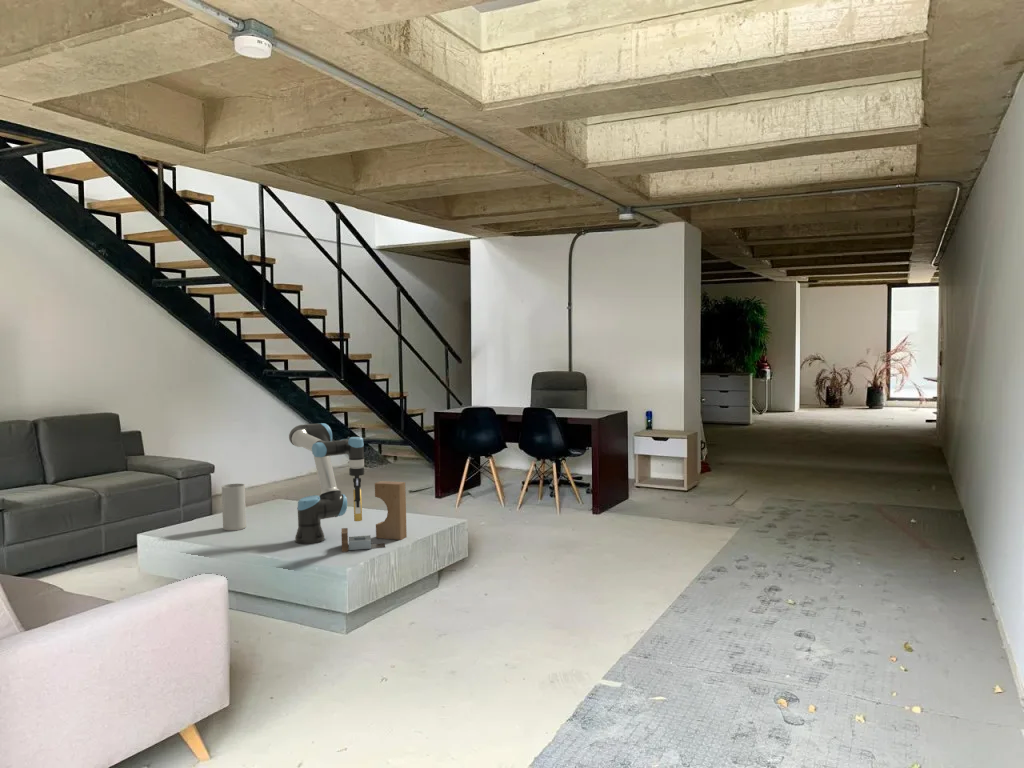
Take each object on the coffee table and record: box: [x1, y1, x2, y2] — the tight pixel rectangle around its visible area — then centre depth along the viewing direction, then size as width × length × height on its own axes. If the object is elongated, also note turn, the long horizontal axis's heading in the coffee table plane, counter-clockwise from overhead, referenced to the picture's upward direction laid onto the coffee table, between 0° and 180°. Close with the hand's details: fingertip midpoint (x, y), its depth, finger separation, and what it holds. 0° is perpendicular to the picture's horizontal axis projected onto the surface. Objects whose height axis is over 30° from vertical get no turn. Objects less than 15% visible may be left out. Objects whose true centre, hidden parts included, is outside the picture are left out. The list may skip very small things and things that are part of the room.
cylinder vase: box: [221, 483, 247, 532], centre depth 440 cm, size 12×12×25 cm
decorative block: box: [374, 480, 408, 541], centre depth 412 cm, size 15×8×30 cm, turn 71°
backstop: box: [340, 527, 349, 553], centre depth 392 cm, size 13×3×9 cm, turn 12°
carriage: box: [348, 534, 372, 551], centre depth 394 cm, size 11×11×4 cm
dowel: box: [352, 488, 363, 522], centre depth 393 cm, size 4×4×16 cm
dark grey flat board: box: [348, 542, 386, 551], centre depth 395 cm, size 8×19×1 cm, turn 102°
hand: (357, 512), depth 393 cm, fingers closed on dowel, 4 cm apart
